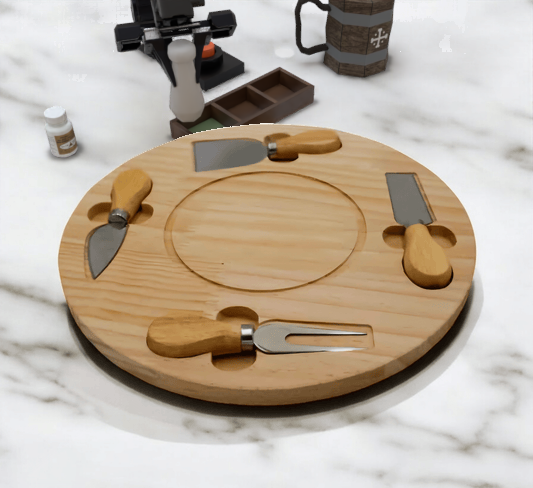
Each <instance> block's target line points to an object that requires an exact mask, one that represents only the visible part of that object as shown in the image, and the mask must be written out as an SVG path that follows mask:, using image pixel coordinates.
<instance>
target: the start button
mask: <svg viewBox="0 0 533 488" xmlns="http://www.w3.org/2000/svg"><path fill="white" fill-rule="evenodd" d="M214 44H215V43H214V42H213V41H210V43H209V45H207V46H204V49H203V53H202V58H206V57H211V56H213V55H214V54H215V48H214Z"/></svg>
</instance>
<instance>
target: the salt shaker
mask: <svg viewBox="0 0 533 488" xmlns="http://www.w3.org/2000/svg"><path fill="white" fill-rule="evenodd" d="M195 56H196V48H195V45H194V44H193V43H192V40H190V39H186V38H177V39H173V41H172V42H171V43H170V44H169V45H168V57H169V59H170V60H171V61H172V69H173V72H174V75H175V80H176V87H175V88H174V87H173V85H172V84H171V83H170V89H169V90H170V92H169V103H168V106H169V109H170V111H171V113H173V115H174V118H177V119H179V120H180V121H182V122H194V121H195V120H196V119H198V118H199V117H200V116H201V114H202V112H203V109H204V105H205V103H206V101H205V97H204V94H203V90H202V89H201V87H200V84H197V83H196V75H195V72H196V71H195V67H194V63H193V59H194V58H195Z"/></svg>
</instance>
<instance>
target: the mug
mask: <svg viewBox="0 0 533 488" xmlns="http://www.w3.org/2000/svg"><path fill="white" fill-rule="evenodd" d="M395 1H396V0H327V3H323V2H322V1H321V0H297V2H296V5H295V7H294V20H295V21H294V22H295V24H294V25H295V29H294V30H295V36H294V37H295V46H297V49H298V51H299V52H300V54H304V55H306V56H312V55H315V54H317V53H322V52H324V55H323V60H322V64H324V65H325V66H326V67H327V68H329V69H330V70H331V71H333V72H334V73H335V74H336V75H340V76H348V77H355V78H356V77H357V78H363V79H364V78H367V77H370V76H373V75H376V74H379V73H381V72H385V71H386V68H387V64H388V59H389V44H390V37H391V33H392V28H393V24H394V8H395ZM307 3H311V4H314V5H315V6H316V7H317V8H318V9H319V10H320V11H322V12H327V14H326V21H325V26H324V29H325V32H324V33H325V42H323V43H319V44H315V45H312V46H310V47H306V46H304V45H303V43H302V27H303V25H302V18H301V11H302V8H303V5H305V4H307Z"/></svg>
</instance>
